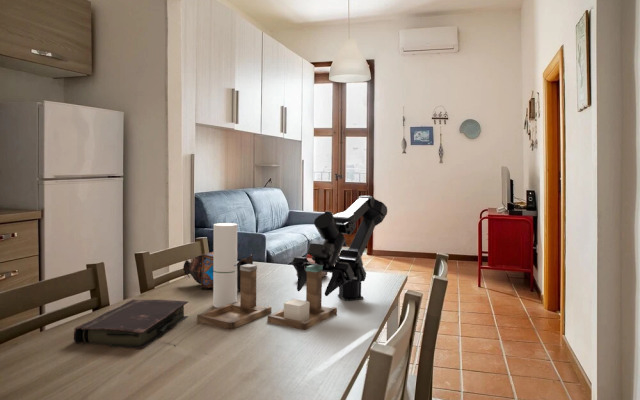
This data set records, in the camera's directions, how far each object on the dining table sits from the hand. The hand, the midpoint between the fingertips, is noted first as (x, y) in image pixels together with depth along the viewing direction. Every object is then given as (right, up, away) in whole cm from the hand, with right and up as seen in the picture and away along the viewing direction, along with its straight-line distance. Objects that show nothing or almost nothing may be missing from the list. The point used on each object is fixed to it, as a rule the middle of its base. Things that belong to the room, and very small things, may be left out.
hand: (311, 292), depth 137 cm
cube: (-4, -6, -6) cm, 10 cm away
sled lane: (-2, -7, -3) cm, 8 cm away
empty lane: (-21, -7, -4) cm, 22 cm away
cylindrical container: (-27, -6, +11) cm, 30 cm away
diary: (-45, -8, -12) cm, 47 cm away
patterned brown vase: (-34, -5, +34) cm, 49 cm away
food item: (-1, -4, +49) cm, 49 cm away
